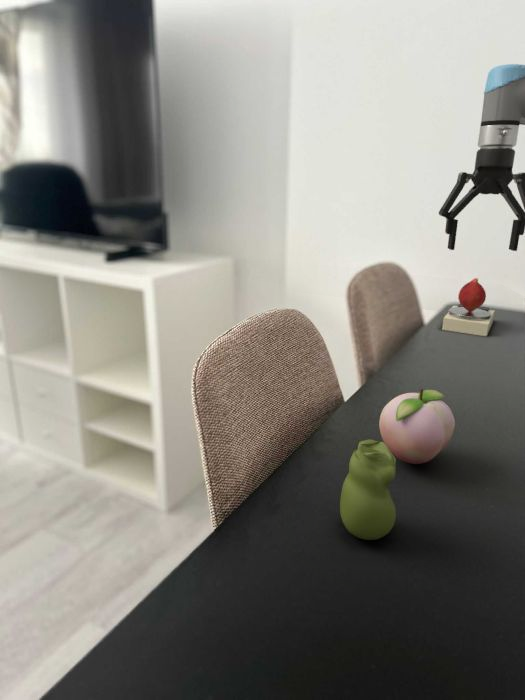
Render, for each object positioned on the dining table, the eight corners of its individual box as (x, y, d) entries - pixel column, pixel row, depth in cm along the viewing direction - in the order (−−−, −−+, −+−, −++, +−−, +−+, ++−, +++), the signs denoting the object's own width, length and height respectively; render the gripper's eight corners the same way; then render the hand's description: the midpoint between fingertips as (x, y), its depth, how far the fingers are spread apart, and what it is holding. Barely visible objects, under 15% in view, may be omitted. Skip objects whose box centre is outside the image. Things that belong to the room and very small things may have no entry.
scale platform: (452, 308, 126) (452, 305, 126) (492, 313, 122) (492, 310, 122) (445, 316, 118) (445, 313, 118) (488, 322, 114) (488, 319, 114)
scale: (452, 316, 130) (454, 302, 129) (492, 322, 126) (495, 308, 125) (441, 330, 119) (444, 315, 117) (486, 337, 114) (489, 321, 113)
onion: (457, 313, 118) (463, 279, 115) (455, 307, 123) (460, 274, 120) (484, 315, 117) (490, 281, 114) (480, 309, 122) (486, 276, 119)
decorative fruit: (396, 437, 69) (404, 368, 66) (456, 459, 64) (468, 386, 61) (361, 465, 63) (368, 390, 59) (425, 491, 58) (436, 411, 54)
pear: (332, 516, 53) (339, 430, 50) (382, 514, 54) (392, 428, 50) (346, 553, 48) (354, 460, 45) (401, 551, 48) (413, 458, 45)
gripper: (440, 147, 106) (429, 251, 113) (565, 147, 104) (546, 252, 111) (431, 149, 113) (421, 246, 120) (549, 149, 111) (531, 248, 118)
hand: (481, 249), depth 115 cm, fingers open, 13 cm apart
